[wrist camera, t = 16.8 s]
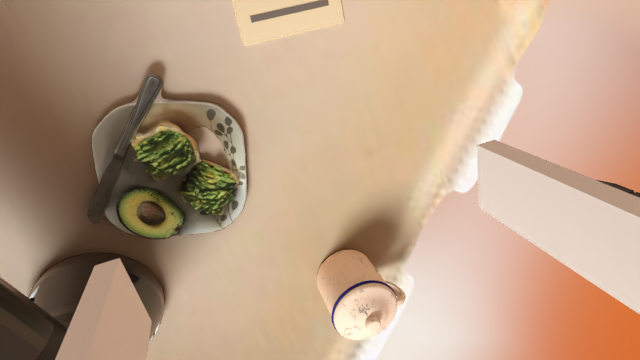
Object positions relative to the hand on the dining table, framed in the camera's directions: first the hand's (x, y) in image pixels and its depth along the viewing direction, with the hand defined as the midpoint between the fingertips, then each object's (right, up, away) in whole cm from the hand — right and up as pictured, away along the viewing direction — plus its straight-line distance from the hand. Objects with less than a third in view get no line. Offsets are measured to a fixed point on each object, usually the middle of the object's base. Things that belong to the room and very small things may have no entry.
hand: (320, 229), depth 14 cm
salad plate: (-18, +3, +33) cm, 38 cm away
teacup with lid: (+5, -12, +46) cm, 48 cm away
